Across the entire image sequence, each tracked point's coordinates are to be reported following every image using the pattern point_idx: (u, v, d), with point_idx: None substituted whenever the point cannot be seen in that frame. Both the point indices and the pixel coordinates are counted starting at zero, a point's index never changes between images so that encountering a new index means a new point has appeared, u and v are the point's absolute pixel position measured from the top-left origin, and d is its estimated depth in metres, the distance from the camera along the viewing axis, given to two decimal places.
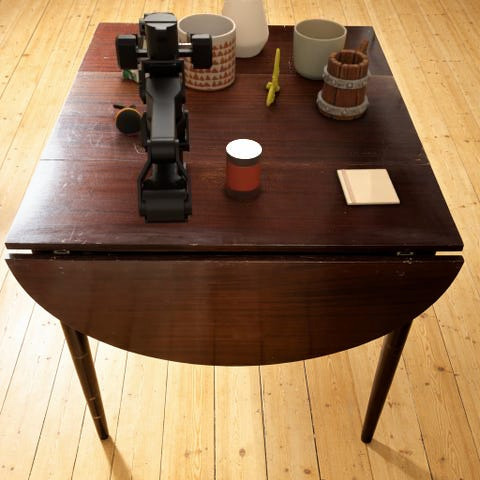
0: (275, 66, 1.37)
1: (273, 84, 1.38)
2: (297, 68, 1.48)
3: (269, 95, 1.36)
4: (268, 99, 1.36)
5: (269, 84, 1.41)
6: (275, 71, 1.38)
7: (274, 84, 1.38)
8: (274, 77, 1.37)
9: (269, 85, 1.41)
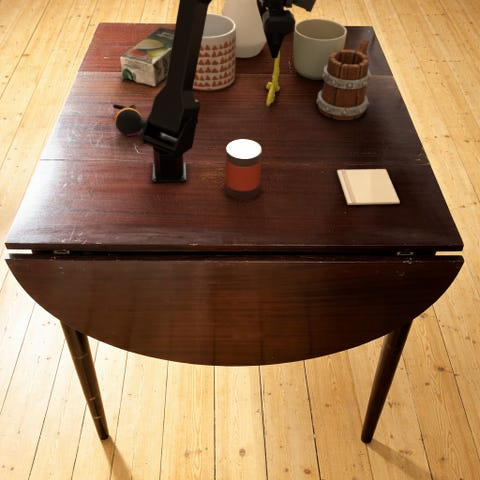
0: (275, 66, 1.37)
1: (273, 84, 1.38)
2: (297, 68, 1.48)
3: (269, 95, 1.36)
4: (268, 99, 1.36)
5: (269, 84, 1.41)
6: (275, 71, 1.38)
7: (274, 84, 1.38)
8: (274, 77, 1.37)
9: (269, 85, 1.41)
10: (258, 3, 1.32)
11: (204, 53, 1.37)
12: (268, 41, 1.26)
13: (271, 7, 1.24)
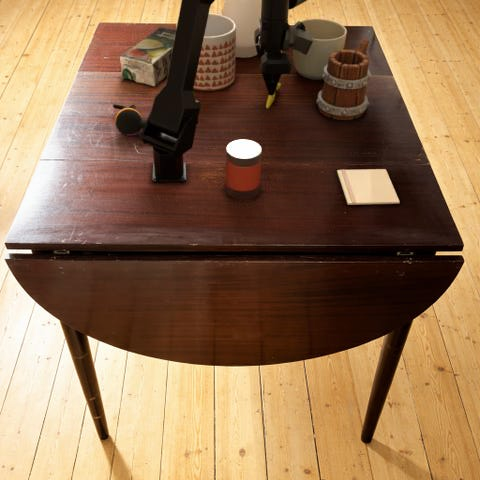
0: None
1: None
2: (297, 68, 1.48)
3: (269, 98, 1.36)
4: (268, 102, 1.36)
5: None
6: None
7: None
8: None
9: None
10: (257, 47, 1.37)
11: (204, 53, 1.37)
12: (265, 79, 1.32)
13: (269, 50, 1.30)
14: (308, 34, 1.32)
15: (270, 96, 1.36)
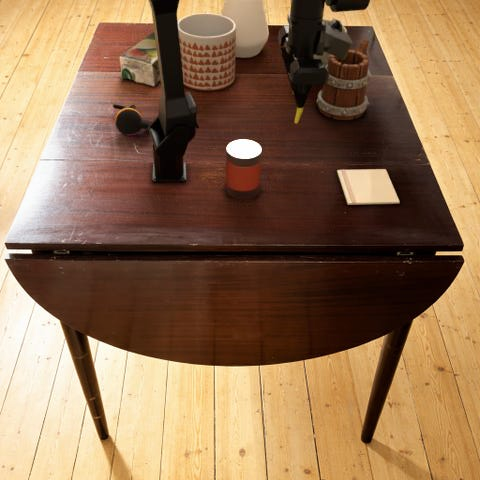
0: None
1: None
2: None
3: (298, 111, 1.14)
4: (297, 116, 1.14)
5: None
6: None
7: None
8: None
9: None
10: (282, 50, 1.15)
11: (204, 53, 1.37)
12: (294, 90, 1.10)
13: (299, 55, 1.08)
14: (346, 35, 1.10)
15: (299, 109, 1.14)
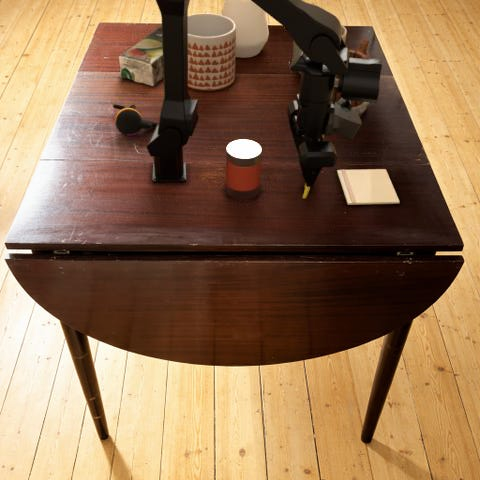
0: None
1: None
2: None
3: (307, 187, 1.13)
4: (305, 192, 1.13)
5: None
6: None
7: None
8: None
9: None
10: (291, 123, 1.15)
11: (204, 53, 1.37)
12: (303, 172, 1.09)
13: (308, 135, 1.07)
14: (355, 113, 1.09)
15: None
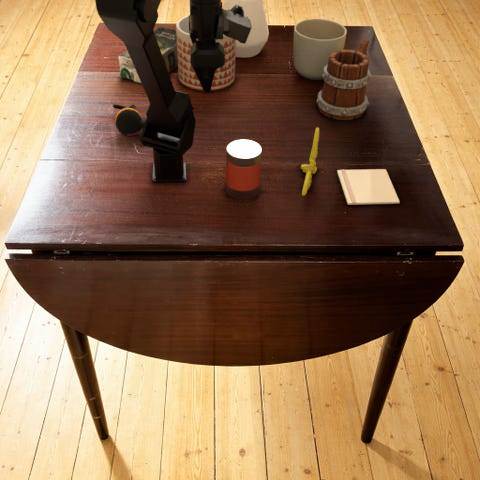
0: (313, 148, 1.14)
1: (310, 168, 1.16)
2: (297, 68, 1.48)
3: (305, 183, 1.13)
4: (304, 188, 1.13)
5: (305, 167, 1.18)
6: (313, 153, 1.15)
7: (311, 168, 1.16)
8: (312, 161, 1.14)
9: (305, 168, 1.18)
10: (191, 32, 1.21)
11: None
12: (198, 75, 1.15)
13: (200, 38, 1.13)
14: (247, 19, 1.15)
15: (306, 182, 1.13)
